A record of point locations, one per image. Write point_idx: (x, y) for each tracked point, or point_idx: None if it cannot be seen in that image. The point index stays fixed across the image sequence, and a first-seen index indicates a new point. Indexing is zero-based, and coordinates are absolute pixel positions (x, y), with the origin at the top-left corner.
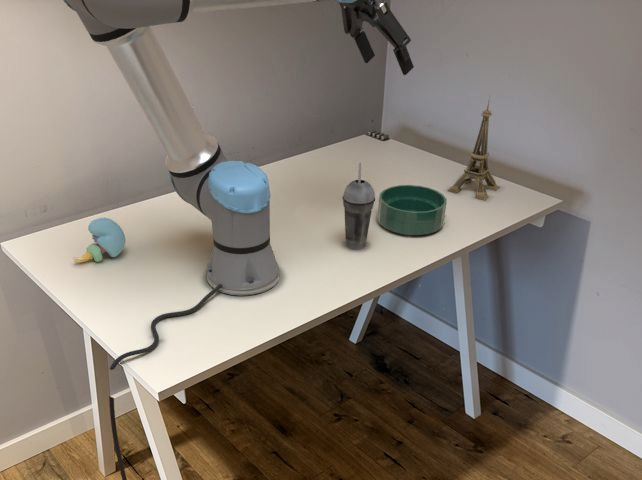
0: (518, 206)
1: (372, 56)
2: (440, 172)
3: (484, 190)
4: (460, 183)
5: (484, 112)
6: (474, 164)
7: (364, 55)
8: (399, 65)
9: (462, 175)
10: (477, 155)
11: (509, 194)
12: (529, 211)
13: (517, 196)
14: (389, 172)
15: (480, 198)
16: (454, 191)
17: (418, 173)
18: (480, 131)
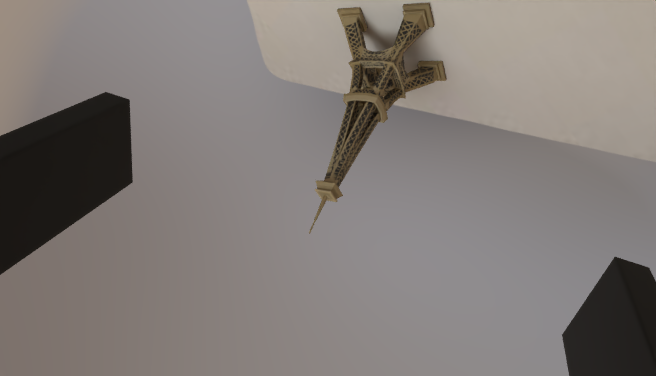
0: (283, 24)
1: (576, 324)
2: (509, 82)
3: (345, 32)
4: (401, 31)
5: (327, 190)
6: (389, 92)
7: (630, 324)
8: (59, 132)
9: (398, 50)
10: (359, 99)
11: (332, 60)
12: (257, 16)
13: (317, 60)
14: (651, 13)
15: (347, 9)
16: (411, 7)
17: (558, 52)
18: (346, 149)
